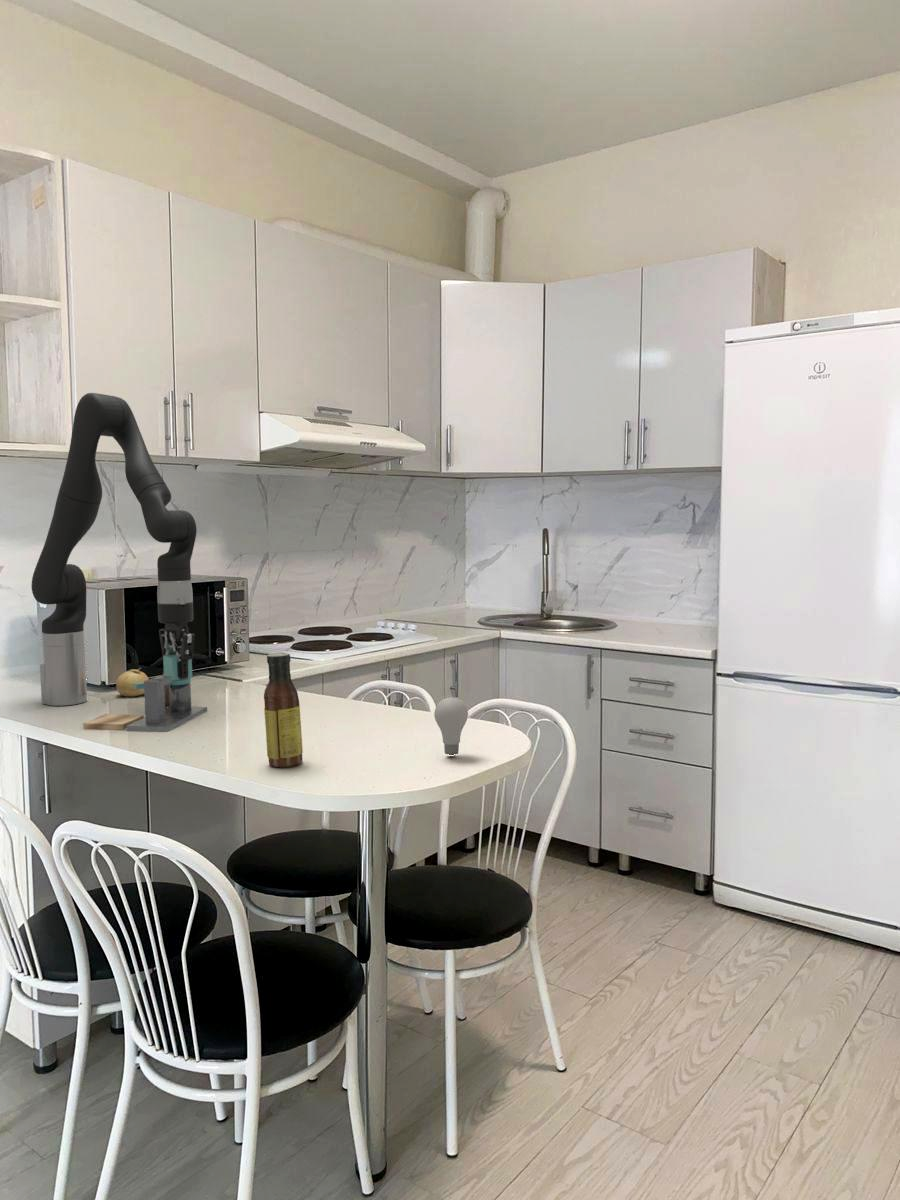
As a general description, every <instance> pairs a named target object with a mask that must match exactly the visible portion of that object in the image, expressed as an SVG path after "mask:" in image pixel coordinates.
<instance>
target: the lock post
mask: <svg viewBox="0 0 900 1200" xmlns="http://www.w3.org/2000/svg"><path fill="white" fill-rule="evenodd" d="M148 679H149V680H146V681H144V694H143V695H144V718H143V719H141V720H139V721H136V722H134V723H132V724H130V725H128V726H126V727H127V729H126V731H127V732H128V731H130V732H159V733H160V732H163V733H164V732H165V733H168V732H170V731H172V730H173V729H175V728H178V727H179V726H181V725H183V724H185V723H187V722H189V721H191V720H193V719H195V718H197V717H199V716H201V715H203V714H205V713H207V712H208V706H192V692H191V691H192V689H191V686H192V685H191V682H190V683H189V684H184V685H169V693H170V706H169V707H168V706H165V692H164V685H165V684H167V683H170V682H172V677H171V676H162V675H157V676H155V677H152V678H148Z"/></svg>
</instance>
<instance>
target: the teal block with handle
mask: <svg viewBox="0 0 900 1200" xmlns="http://www.w3.org/2000/svg"><path fill="white" fill-rule="evenodd" d="M162 661H163V662H162V663H163V664H162V665H163V673H164V676H171V677H172V682H170V683H167V684H165V685H184V684H189V683H191V679H193V659H190V660H189V661H188V678H184V679H179V678H178V669H177V662H178V661H177V656H176V654H173V655H162ZM165 685H164V686H165ZM134 688H135V689H143V688H144V682H139V683H134Z"/></svg>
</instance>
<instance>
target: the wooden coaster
mask: <svg viewBox="0 0 900 1200" xmlns="http://www.w3.org/2000/svg"><path fill="white" fill-rule="evenodd" d="M143 718H145V714H118V713H117V714H115V713H113V714H112V713H104V714H103V715H100V716H98V717H95V718H92V719H91V720H90V719H89V720H88V721H85V722H83V723H82V725H83V727H82V728H83V730H106V731H107V730H110V731H124V730H127V727H126V726H128V725H130V724H132V723H134V722H136V721H139V720H141V719H143Z"/></svg>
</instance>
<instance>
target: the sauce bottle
mask: <svg viewBox="0 0 900 1200" xmlns="http://www.w3.org/2000/svg"><path fill="white" fill-rule="evenodd" d="M266 662H267V664H268V683H267V685H266V687H265V688H264V693H263V699H264V700H263V701H264V703H263V704H264V709H263V710H264V711H263V712H264V721H265V723H264V725H265V736H266V737H265V740H266V753H267V754H266V756H267V758H268V764H269V765H270V766H271V767H275V768H280V767H282V768H291V767H297V766H298V765H300V764H302V763H303V752H304V751H303V750H304V749H303V748H304V747H303V735H302V734H303V733H302V721H301V709H300V708H301V706H300V699H299V694H298V690H297V688H296V687H295V685H294V682H293V680H292V678H291V676H292V675H291V665H290V663H291V654H290V653H288V652H273V653H270V654H267V655H266Z"/></svg>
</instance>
